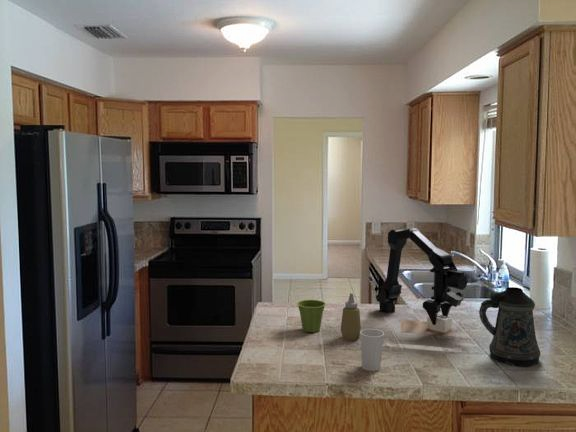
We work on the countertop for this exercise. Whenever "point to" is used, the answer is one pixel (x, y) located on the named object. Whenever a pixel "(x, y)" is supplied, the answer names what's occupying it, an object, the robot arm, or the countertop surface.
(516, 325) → the beer stein
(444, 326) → the white slotted box
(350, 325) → the squeeze bottle
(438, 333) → the base board
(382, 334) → the cup
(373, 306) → the countertop surface
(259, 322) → the countertop surface
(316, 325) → the plant pot
